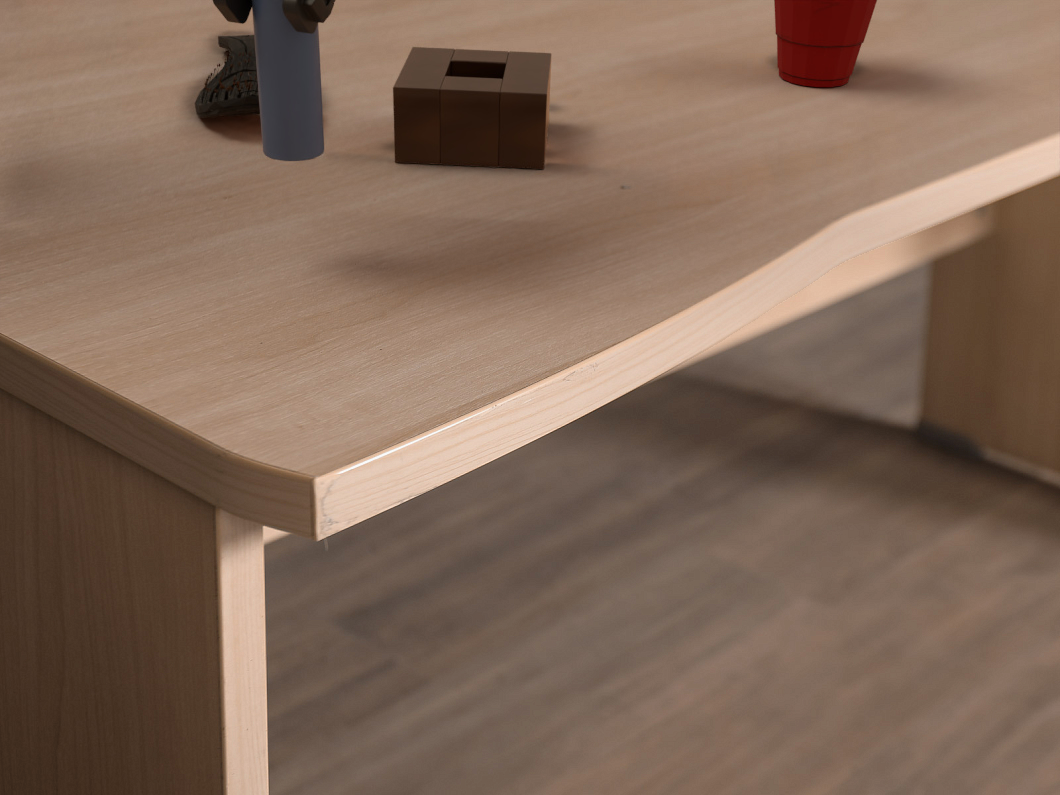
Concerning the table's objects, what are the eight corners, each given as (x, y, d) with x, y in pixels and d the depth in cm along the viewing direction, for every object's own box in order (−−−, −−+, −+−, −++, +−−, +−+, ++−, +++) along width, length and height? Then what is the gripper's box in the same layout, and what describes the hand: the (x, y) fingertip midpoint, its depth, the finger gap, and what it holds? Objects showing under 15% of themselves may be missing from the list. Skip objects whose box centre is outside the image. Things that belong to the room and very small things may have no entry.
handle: (256, 160, 60) (238, -80, 54) (270, 139, 62) (254, -91, 57) (318, 163, 60) (306, -77, 54) (329, 142, 62) (318, -88, 57)
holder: (394, 162, 80) (392, 87, 78) (413, 116, 89) (412, 46, 86) (544, 169, 80) (547, 94, 78) (548, 122, 89) (551, 52, 86)
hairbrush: (284, 9, 103) (321, 79, 82) (287, 54, 105) (325, 133, 84) (182, 13, 101) (193, 86, 80) (187, 58, 103) (200, 141, 82)
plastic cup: (722, 63, 104) (739, -88, 98) (835, 56, 107) (858, -90, 101) (784, 102, 95) (806, -62, 89) (905, 93, 98) (935, -66, 92)
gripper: (215, -365, 58) (86, -50, 54) (492, -353, 54) (373, -13, 50) (280, -243, 65) (170, 44, 61) (529, -225, 61) (428, 82, 57)
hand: (262, 16), depth 56 cm, fingers closed on handle, 3 cm apart
